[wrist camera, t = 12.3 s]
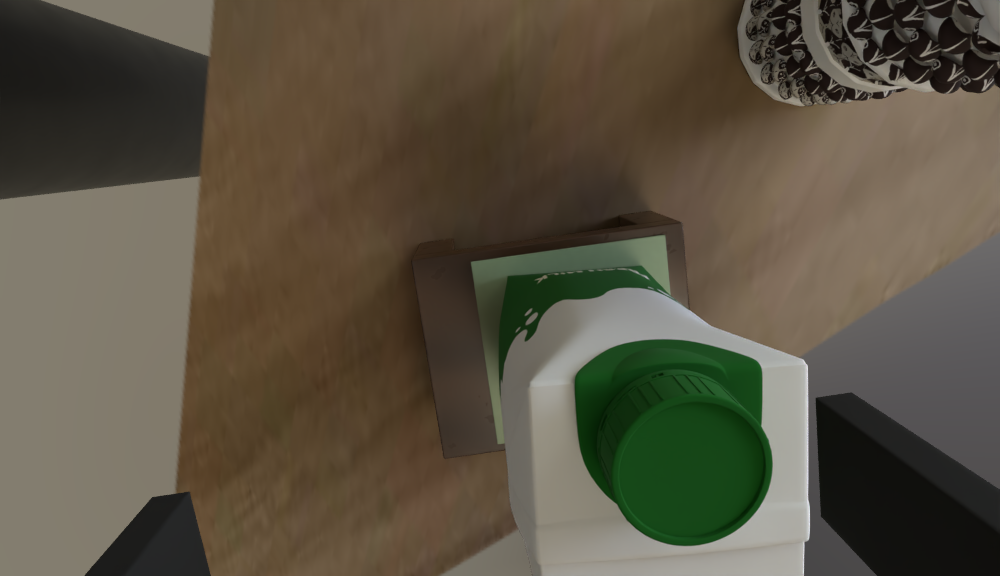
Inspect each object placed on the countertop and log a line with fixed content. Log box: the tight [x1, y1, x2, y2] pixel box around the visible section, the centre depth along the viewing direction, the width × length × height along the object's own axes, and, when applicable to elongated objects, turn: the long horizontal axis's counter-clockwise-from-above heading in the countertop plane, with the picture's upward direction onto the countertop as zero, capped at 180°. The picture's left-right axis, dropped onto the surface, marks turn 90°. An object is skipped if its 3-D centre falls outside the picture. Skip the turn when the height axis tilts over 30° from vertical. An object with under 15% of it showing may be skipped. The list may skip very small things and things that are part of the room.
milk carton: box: [499, 265, 810, 576], centre depth 27 cm, size 9×9×20 cm
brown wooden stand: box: [411, 211, 690, 459], centre depth 40 cm, size 11×14×7 cm
